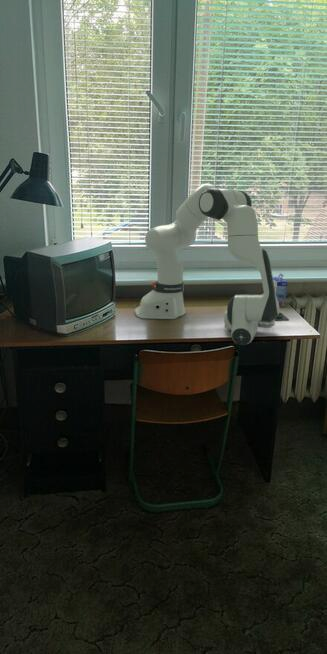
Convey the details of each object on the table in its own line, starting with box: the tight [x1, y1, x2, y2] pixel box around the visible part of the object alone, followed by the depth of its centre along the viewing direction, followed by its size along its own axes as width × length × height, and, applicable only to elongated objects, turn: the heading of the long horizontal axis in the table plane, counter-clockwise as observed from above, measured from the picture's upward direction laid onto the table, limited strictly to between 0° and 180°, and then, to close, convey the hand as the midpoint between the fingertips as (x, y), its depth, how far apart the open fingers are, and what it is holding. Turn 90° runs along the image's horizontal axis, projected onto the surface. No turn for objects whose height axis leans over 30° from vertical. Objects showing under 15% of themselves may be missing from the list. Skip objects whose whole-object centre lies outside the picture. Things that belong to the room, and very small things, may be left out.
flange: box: [275, 312, 290, 322], centre depth 214 cm, size 9×9×1 cm
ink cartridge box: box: [273, 273, 288, 308], centre depth 231 cm, size 10×6×14 cm, turn 10°
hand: (251, 312), depth 203 cm, fingers open, 8 cm apart
